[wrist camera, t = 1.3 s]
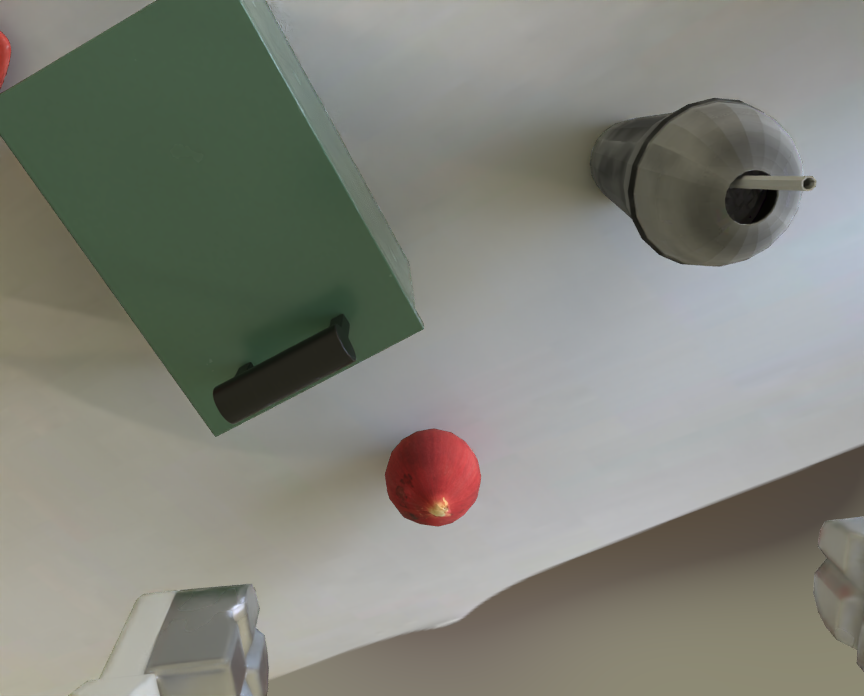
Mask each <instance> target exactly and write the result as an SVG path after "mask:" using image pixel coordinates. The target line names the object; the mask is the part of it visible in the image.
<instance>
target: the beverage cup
mask: <svg viewBox="0 0 864 696" xmlns="http://www.w3.org/2000/svg"><path fill="white" fill-rule="evenodd" d="M590 166H591V173H592V177H593V179H594V180H595V182H596V184H597V186H598V187H599V188H600V189H601V191H602V192H603V193H604V194H605V195H606V196H607V197H608V198H609V199H610V200H611V201H612V202H614V203H615V204H616V205H617V206H618V207H619V208H620V209H621V210H623V211H624V212H625V213H626V214H627V215H628V216H629V217H630V218H631V219H632V220H633V222H634V224H635V226H636V228H637V230H638V232H639V234H640V236H641V238H642V239H643V240H644V241H645V242H646V243H647V244H648V245H649V246H650V247H651V248H652V249H653V250H655V251H656V252H657V253H658V254H659V255H661V256H663V257H666V258H668V259H670V260H673V261H675V262H677V263H680V264H688V265H702V266H724V265H728V264H732V263H736V262H740V261H744V260H747V259H749V258H751V257H753V256H754V255H756V254H758V253H760V252H761V251H763V250H765V249H767V248H768V247H769V246H770V245H771V244H772V243H773V242H774V241H775V240H776V239H777V238H778V237H779V236H780V235H781V234H782V233H783V232H784V231H785V230H786V229H787V228H788V226H789V224H790V223H791V221H792V219H793V217H794V216H795V214H796V212H797V210H798V208H799V204H800V200H801V196H802V192H803V191H811V190H812V189H814V188H815V187H816V180H815V178H814V177H813V176H803V165H802V160H801V157H800V155H799V153H798V150H797V148H796V145H795V143H794V141H793V139H792V137H791V136H790V135H789V134H788V133H787V132H786V131H785V130H784V129H783V127H782V126H781V125H780V124H779V123H778V122H777V121H776V120H775V119H773V118H772V117H770V116H768V115H766V114H765V113H764V112H762V111H760V110H758V109H756V108H754V107H752V106H750V105H748V104H746V103H744V102H742V101H740V100H730V99H719V98H712V99H708V100H704V101H700V102H696V103H692V104H688V105H686V106H684V107H683V108H681V109H679V110H677V111H675V112H673V113H668V114H661V115H654V116H647V117H640V118H635V119H631V120H627V121H624V122H620V123H617V124H615V125H613V126H612V127H610V128H608V129H607V130H606V131H605V132H604V133H603V134H602V135H601V136H600V137H599V138H598V140H597V142H596V144H595V146H594V148H593V150H592V154H591V161H590Z"/></svg>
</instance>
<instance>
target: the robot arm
mask: <svg viewBox="0 0 864 696" xmlns="http://www.w3.org/2000/svg"><path fill="white" fill-rule="evenodd" d="M818 547H819V548H820V550H821V551H822V552H823V554H824V555H825V556H826V558H827V559H826V560H825V561H824V563H823V564H822V565H821V566H820V567H819V568H818V570H817V571H816V572H815V578H814V592H813V593H814V597H815V601H816V605H817V609H818V613H819V614H820V617H821V619H822V620H823V622H824V624H825V626H826V628H827V629H828V630H829V631H830V632H831V634H832V635H833V636H834V637H835V638H836V640H838V641H840V642H842V643H844V644H846V645H848V646H850V647H852V648H854V649H856V650H857V664H858V666H859V667H860V668H861V669H862V670H863V672H864V517H856V518H848V519H840V520H831V521H825V523H824V525H823V526H822V528H821V530H820V534H819V542H818ZM259 609H260V608H259V604H258V599H257V595H256V590H255V588H254V587H253V585H252V584H243V585H232V586H221V587H209V588H198V589H187V590H180V591H167V592H158V593H149V594H144V595H142V596H141V597H139V598H138V599H137V600H136V602H135V604H134V606H133V608H132V610H131V612H130V615H129V617H128V619H127V621H126V623H125V625H124V627H123V629H122V631H121V633H120V636H119V638H118V640H117V642H116V644H115V646H114V648H113V650H112V652H111V654H110V657H109V659H108V661H107V663H106V665H105V667H104V669H103V671H102V673H101V675H100V678H99V680H92V681H87V682H85V683H84V684H83V685H81V686H80V687H79V688H77V689H76V690H75V691H74V692H72V693H71V694H70V695H68V696H267V692H268V671H269V666H268V654H267V647H266V641H265V635H264V634H262V633H261V632H260V631H259V630H258V629H257V628H256V624H257V619H258V614H259Z"/></svg>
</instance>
